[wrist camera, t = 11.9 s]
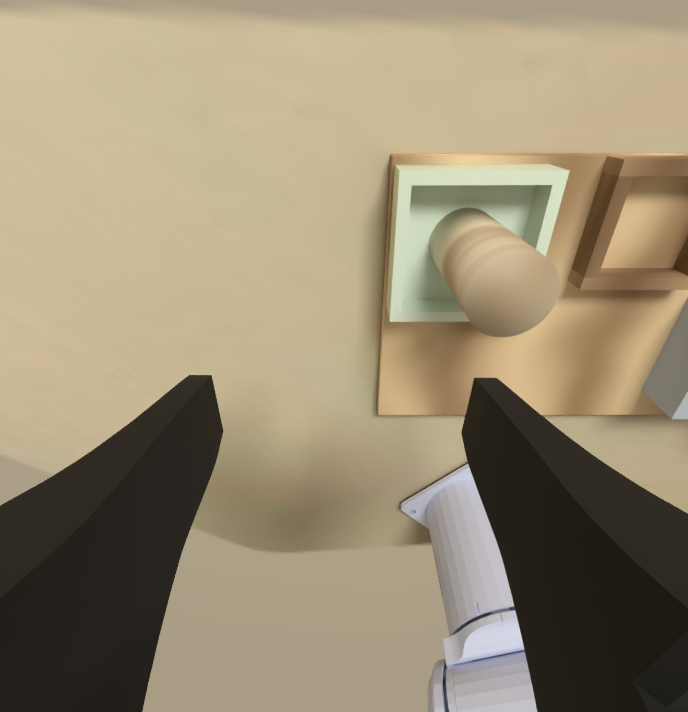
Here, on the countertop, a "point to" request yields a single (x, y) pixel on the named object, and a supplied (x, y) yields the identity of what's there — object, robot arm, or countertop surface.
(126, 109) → the countertop surface
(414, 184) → the sage tray
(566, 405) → the bench board
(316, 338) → the countertop surface
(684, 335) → the slate block
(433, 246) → the beech dowel
